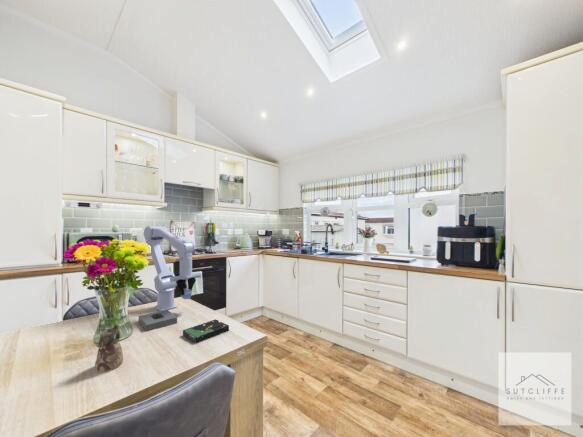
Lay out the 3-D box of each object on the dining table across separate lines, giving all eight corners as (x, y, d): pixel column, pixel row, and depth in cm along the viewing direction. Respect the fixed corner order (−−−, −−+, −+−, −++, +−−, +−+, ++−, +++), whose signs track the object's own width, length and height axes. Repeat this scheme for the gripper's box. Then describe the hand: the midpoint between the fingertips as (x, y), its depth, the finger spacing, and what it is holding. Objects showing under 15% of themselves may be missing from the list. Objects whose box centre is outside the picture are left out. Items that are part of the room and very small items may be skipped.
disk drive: (215, 325, 110) (182, 337, 99) (215, 319, 110) (182, 329, 99) (229, 332, 104) (195, 345, 92) (229, 325, 104) (195, 337, 92)
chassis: (138, 321, 114) (138, 315, 114) (167, 314, 122) (167, 309, 122) (146, 331, 103) (146, 325, 104) (177, 323, 112) (177, 317, 112)
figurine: (90, 368, 77) (90, 329, 77) (115, 357, 83) (115, 321, 84) (102, 375, 74) (102, 334, 74) (127, 363, 80) (127, 325, 80)
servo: (180, 296, 127) (180, 287, 127) (186, 295, 129) (186, 286, 129) (186, 300, 121) (186, 290, 121) (192, 298, 123) (192, 289, 123)
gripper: (173, 269, 118) (173, 299, 117) (203, 265, 127) (203, 292, 127) (168, 267, 123) (168, 295, 122) (197, 264, 133) (197, 290, 132)
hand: (185, 294), depth 125 cm, fingers closed on servo, 3 cm apart
